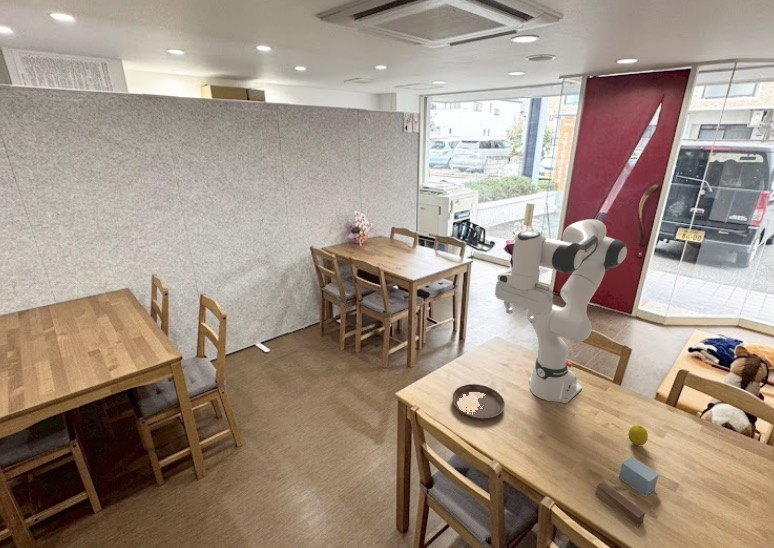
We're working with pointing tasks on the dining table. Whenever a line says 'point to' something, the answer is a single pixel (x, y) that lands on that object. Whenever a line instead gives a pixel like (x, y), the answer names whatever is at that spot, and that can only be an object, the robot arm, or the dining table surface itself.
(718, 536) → the dining table surface
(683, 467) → the dining table surface
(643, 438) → the lemon
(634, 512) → the brown rectangular bar
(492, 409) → the plant saucer
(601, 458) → the dining table surface
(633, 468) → the block
